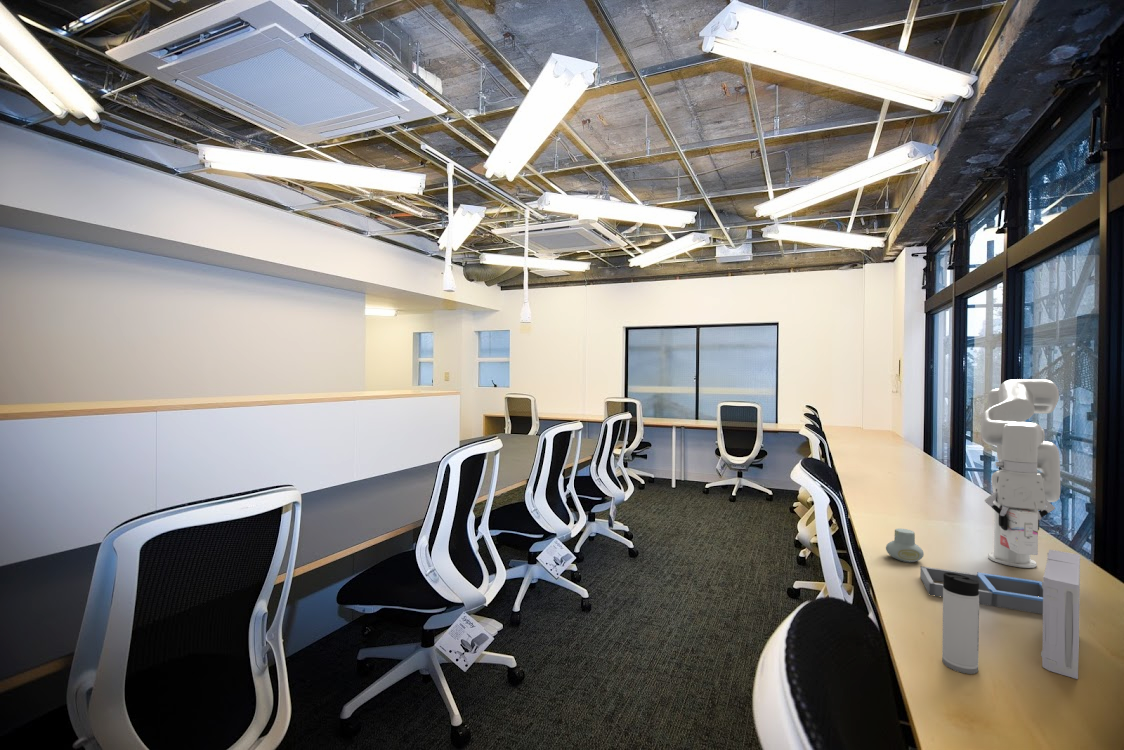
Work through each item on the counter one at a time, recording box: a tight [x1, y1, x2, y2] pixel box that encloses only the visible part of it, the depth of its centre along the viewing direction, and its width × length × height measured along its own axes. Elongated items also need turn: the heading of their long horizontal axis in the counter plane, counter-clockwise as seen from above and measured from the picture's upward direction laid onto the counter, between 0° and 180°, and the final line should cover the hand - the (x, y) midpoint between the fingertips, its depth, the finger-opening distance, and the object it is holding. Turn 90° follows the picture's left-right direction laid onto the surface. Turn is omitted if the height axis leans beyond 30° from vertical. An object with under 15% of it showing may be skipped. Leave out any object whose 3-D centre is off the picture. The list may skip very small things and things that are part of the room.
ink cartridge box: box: [1000, 502, 1039, 556], centre depth 147 cm, size 9×5×15 cm, turn 168°
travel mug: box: [941, 573, 980, 675], centre depth 113 cm, size 6×7×20 cm
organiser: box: [919, 565, 1043, 615], centre depth 150 cm, size 16×30×4 cm, turn 63°
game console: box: [1040, 549, 1081, 680], centre depth 120 cm, size 6×27×20 cm, turn 135°
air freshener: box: [885, 528, 924, 563], centre depth 179 cm, size 11×8×10 cm
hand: (1018, 530), depth 147 cm, fingers closed on ink cartridge box, 5 cm apart
